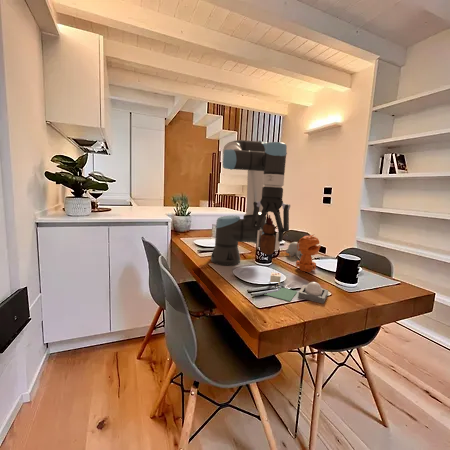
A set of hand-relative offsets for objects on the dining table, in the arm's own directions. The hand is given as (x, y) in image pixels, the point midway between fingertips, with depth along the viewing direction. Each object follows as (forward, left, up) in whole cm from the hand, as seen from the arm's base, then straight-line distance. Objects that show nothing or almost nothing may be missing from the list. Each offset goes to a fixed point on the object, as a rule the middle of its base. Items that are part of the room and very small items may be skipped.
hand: (267, 248), depth 100 cm
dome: (+17, +6, -17) cm, 25 cm away
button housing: (+17, +6, -17) cm, 25 cm away
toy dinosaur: (+8, +36, -17) cm, 41 cm away
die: (+1, +9, -17) cm, 19 cm away
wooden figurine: (0, 0, -2) cm, 2 cm away
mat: (+6, +1, -17) cm, 18 cm away
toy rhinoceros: (-2, +55, -17) cm, 57 cm away
